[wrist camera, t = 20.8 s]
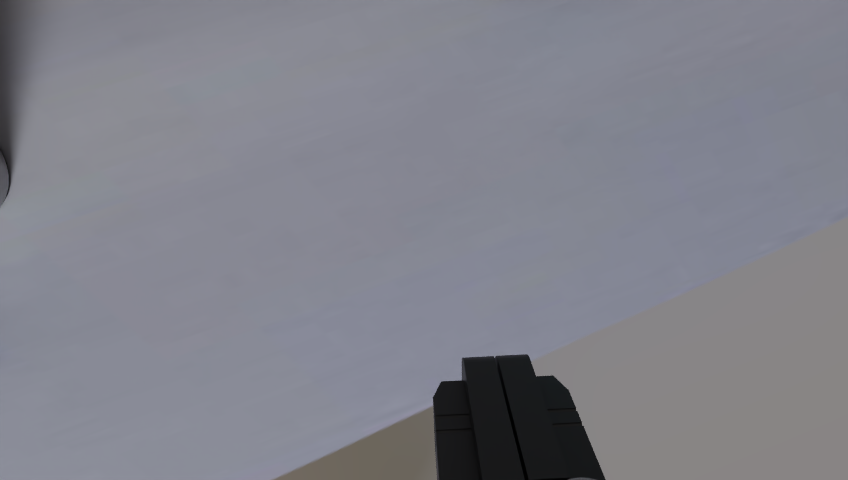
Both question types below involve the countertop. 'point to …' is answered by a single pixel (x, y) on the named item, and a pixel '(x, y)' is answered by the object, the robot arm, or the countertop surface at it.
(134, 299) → the countertop surface
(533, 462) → the robot arm
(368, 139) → the countertop surface
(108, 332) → the countertop surface
